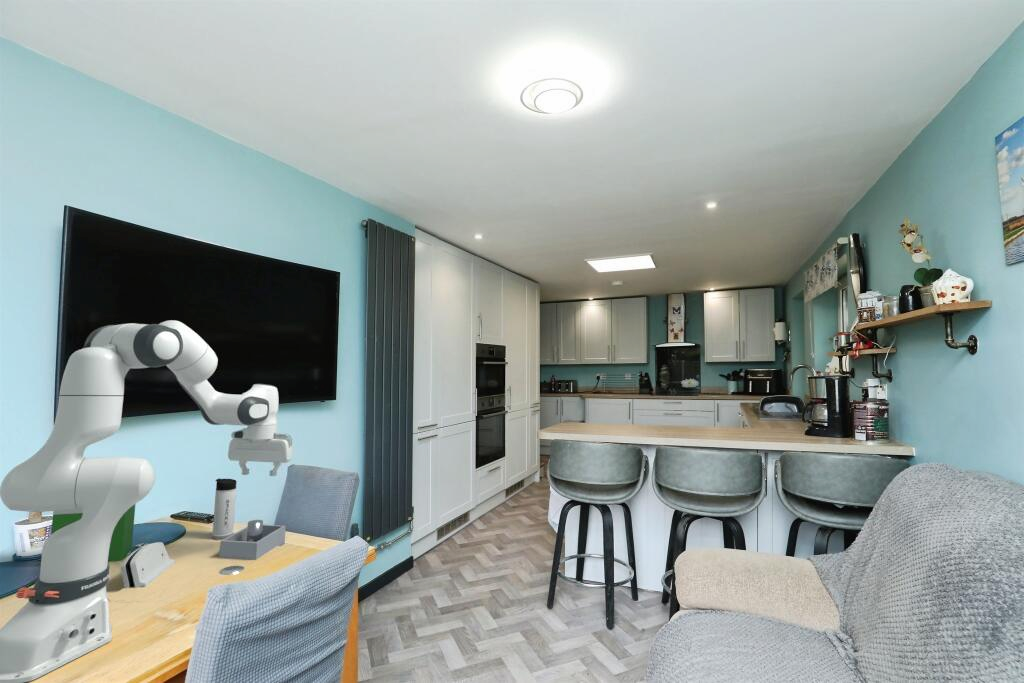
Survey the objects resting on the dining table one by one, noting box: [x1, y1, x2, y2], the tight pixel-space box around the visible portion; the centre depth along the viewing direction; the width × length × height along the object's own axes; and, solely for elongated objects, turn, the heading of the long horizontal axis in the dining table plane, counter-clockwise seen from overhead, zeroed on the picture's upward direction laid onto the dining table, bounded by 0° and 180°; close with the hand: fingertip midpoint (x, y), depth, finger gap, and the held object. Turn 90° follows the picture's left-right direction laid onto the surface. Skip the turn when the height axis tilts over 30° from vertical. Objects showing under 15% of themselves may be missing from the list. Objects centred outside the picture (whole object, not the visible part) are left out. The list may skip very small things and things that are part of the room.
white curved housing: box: [120, 541, 176, 589], centre depth 134 cm, size 17×5×10 cm, turn 12°
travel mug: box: [212, 478, 237, 541], centre depth 169 cm, size 6×7×20 cm
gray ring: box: [218, 565, 245, 576], centre depth 139 cm, size 6×6×1 cm
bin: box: [218, 524, 286, 561], centre depth 156 cm, size 17×12×6 cm
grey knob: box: [247, 519, 264, 542], centre depth 156 cm, size 5×5×9 cm
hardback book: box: [50, 504, 136, 563], centre depth 146 cm, size 18×7×24 cm, turn 110°
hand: (259, 475), depth 157 cm, fingers open, 8 cm apart
